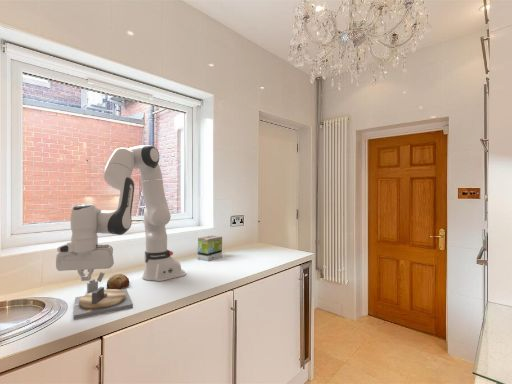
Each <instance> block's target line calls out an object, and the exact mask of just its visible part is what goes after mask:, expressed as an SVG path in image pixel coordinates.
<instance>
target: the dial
mask: <svg viewBox="0 0 512 384" xmlns="http://www.w3.org/2000/svg"><path fill="white" fill-rule="evenodd" d="M82 296H83V297H81V298H80V300H79V306H80V307H82V308H86V309H98V308H105V307H109V306H113V305H116V304H118V303H120V302H122V301H123V300H124V299H125V298H126V292H125V291H123V289H120V290H118V289H105V286H100V287H98V289H97V290H95V291H93V292H89V293H87V294H85V295H82Z"/></svg>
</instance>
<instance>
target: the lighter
mask: <svg viewBox="0 0 512 384" xmlns="http://www.w3.org/2000/svg"><path fill="white" fill-rule="evenodd" d="M104 276H105V272H102V271H100V273H99V275H98V277H97V279H91V280H90V281H87V283H86V289H87V291H86V292H87V294H89V293H92V292H94V291H95V290H97V289H98V288H99V283H101V282H102V280H103V278H104Z"/></svg>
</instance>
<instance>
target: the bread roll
mask: <svg viewBox="0 0 512 384" xmlns="http://www.w3.org/2000/svg"><path fill="white" fill-rule="evenodd" d="M129 285H130V280H129V277H128V276H127V275H125V274H121V273H118V274H113V275H111V276H110V277H109V278H108V280H107V282H106V290H108V289H118V290H123V289H127V288H128V287H129Z"/></svg>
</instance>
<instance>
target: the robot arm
mask: <svg viewBox="0 0 512 384" xmlns="http://www.w3.org/2000/svg"><path fill="white" fill-rule="evenodd" d="M159 161H160V151H159V150H158V149H157V147H155V145H150V144H148V145H147V144H146V145H136V146H133V147H132V146H131V147H129V148H126V147H118V148H116V149H115V150H114V151H113V152H112V154H111V156H110V157H109V159H108V160H107V163H106V165H105V168H104V172H103V178H104V181H105V182H106V184H107V185H109V186H110V187H112V188H114V189H116V190H118V191H119V199H118V203H117V204H118V206H117V208H116V209H114V210H102V209H99V208H97V207H96V206H95V204H94V203H81V204H78V205H75V206H74V207H72V209H71V212H70V230H71V238H70V240H71V241H70V242H67V243H66V244H63V245H60V246H58V247H57V248H56V251H57V255H56V258H55V268H56V270H57V271H58V272H59V271H60V272H63V271H64V272H65V271H77V274H78V275H79V276H80V279H81V280H80V281H82V282H89V281H90V280H92V275H93V273H94V271H95V270H106V269H108V270H109V269H111V268H112V267H113V266H114V265H115V262H114V255H113V254H114V247H112V246H111V245H110V244H98V243H99V242H98V234H103V235H105V234H108V235H109V234H111V235H117V236H118V235H119V236H121V235H124V234H126V233H127V232H128V231H129V230H130V228H131V227H132V222H133V221H132V209H133V202H134V196H135V182H134V180H133V179H132V173H133V170H135V169H138V170H139V173H140V183H141V184H140V185H141V190H142V192H141V193H142V197H143V200H144V204H145V210H144V211H143V222H144V224H143V225H144V232H145V233H144V234H145V251H144V263H145V265H144V270H143V275H142V279H143V280H145V281H155V282H162V281H167V280H172V279H175V278H176V279H177V278H181V277H184V276H185V275H186V271H185V270H184V269H182V265H181V263H180V262H179V261H178V260H176V259H175V258H174V257H172V256H173V255H174V252H173V251H172V250H169V249H168V234H167V229H166V228H167V227H166V226H167V225H168V224H169V222H170V221H171V213H170V210H169V205H168V201H167V197H166V195H165V194H166V193H165V187H164V181H163V180H164V179H163V174H162V170H161V166H160V164H159ZM86 270H87V273H88V274H85V271H86Z"/></svg>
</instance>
